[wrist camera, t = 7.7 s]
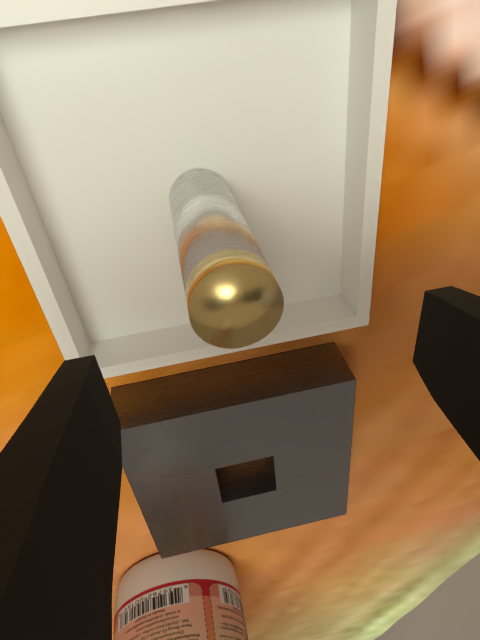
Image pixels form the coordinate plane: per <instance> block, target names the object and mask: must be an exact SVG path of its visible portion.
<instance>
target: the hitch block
mask: <svg viewBox="0 0 480 640" xmlns="http://www.w3.org/2000/svg"><path fill="white" fill-rule="evenodd" d="M355 389H356V378H355V377H354V375H353V373H352V372H351V370H350V368H349V367H348V365H347V363H346V362H345V360H344V358H343V356H342V355H341V353H340V351H339V350H338V348H337V346H336V345H335V343H334V342H333V343H328V344H323V345H318V346H313V347H308V348H303V349H299V350H294V351H289V352H284V353H279V354H274V355H269V356H264V357H260V358H255V359H250V360H245V361H240V362H235V363H230V364H225V365H220V366H216V367H211V368H206V369H201V370H196V371H191V372H186V373H181V374H177V375H172V376H167V377H162V378H157V379H152V380H147V381H142V382H137V383H133V384H128V385H123V386H118V387H113V388H111V399H112V401H113V404H114V406H115V409H116V412H117V414H118V417H119V419H120V423H121V445H122V467H123V469H124V471H125V474H126V476H127V478H128V481H129V483H130V485H131V488H132V490H133V493H134V495H135V497H136V500H137V502H138V504H139V507H140V509H141V511H142V514H143V516H144V518H145V521H146V523H147V526H148V528H149V530H150V533H151V535H152V537H153V540H154V542H155V544H156V547H157V549H158V552H159V554H160V556H161V559H163V558H167V557H172V556H176V555H180V554H184V553H188V552H192V551H196V550H200V549H205V548H209V547H213V546H217V545H221V544H225V543H229V542H233V541H237V540H242V539H246V538H250V537H254V536H258V535H262V534H266V533H270V532H274V531H279V530H283V529H287V528H291V527H295V526H299V525H303V524H307V523H311V522H316V521H320V520H324V519H328V518H332V517H336V516H340V515H344V514H346V511H347V498H348V484H349V471H350V457H351V443H352V430H353V416H354V403H355Z"/></svg>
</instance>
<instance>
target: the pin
mask: <svg viewBox="0 0 480 640" xmlns="http://www.w3.org/2000/svg"><path fill="white" fill-rule="evenodd" d="M169 203H170V209H171V215H172V221H173V227H174V233H175V238H176V244H177V250H178V256H179V262H180V268H181V273H182V279H183V285H184V291H185V297H186V303H187V308H188V314H189V320H190V323H191V326H192V328H193V330H194V331H195V333H196V334H197V335H198V336H199V337H200V338H201V339H202V340H203V341H205V342H207V343H208V344H211V345H213V346H216V347H220V348H228V349H233V348H242V347H246V346H249V345H252V344H254V343H256V342H258V341H260V340H262V339H263V338H265V337H266V336H267V335H268V334H269V333H270V332H272V331H273V329H274V328H275V327H276V325H277V324H278V322H279V320H280V318H281V316H282V313H283V308H284V298H283V294H282V291H281V289H280V287H279V285H278V283H277V281H276V279H275V277H274V275H273V273H272V271H271V269H270V267H269V265H268V263H267V261H266V259H265V258H264V256H263V254H262V252H261V250H260V248H259V246H258V244H257V242H256V240H255V238H254V236H253V234H252V232H251V230H250V228H249V226H248V225H247V223H246V221H245V219H244V217H243V215H242V213H241V211H240V209H239V207H238V205H237V203H236V201H235V199H234V197H233V195H232V193H231V192H230V190H229V188H228V186H227V184H226V182H225V181H224V179H223V178H222V177H221V176H220V175H219V174H217V173H216V172H214V171H212V170H209V169H206V168H194V169H190V170H188V171H185V172H184V173H182V174H181V175H180V176H178V177H177V179H176V180H175V181H174V183H173V184H172V186H171V189H170V193H169Z"/></svg>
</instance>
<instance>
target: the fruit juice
mask: <svg viewBox="0 0 480 640" xmlns="http://www.w3.org/2000/svg"><path fill="white" fill-rule="evenodd" d="M114 640H248V635H247V630H246V624H245V618H244V613H243V607H242V601H241V596H240V590H239V584H238V579H237V576H236V572H235V569H234V567H233V565H232V563H231V562H230V561H229V559H228V558H226V557H225V556H224V555H222V554H220V553H217V552H215V551H211V550H206V549H200V550H196V551H192V552H188V553H184V554H180V555H176V556H172V557H167V558H163V559H161V556H160V554H156V555H154V556H151V557H148V558H146V559H144V560H142V561H140V562H139V563H137V564H136V565H134V566H133V567H131V568H130V569H129V570H128V571H127V572H126V573H125V574H124V575H123V577H122V578H121V580H120V582H119V585H118V588H117V593H116V599H115V618H114Z"/></svg>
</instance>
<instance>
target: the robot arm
mask: <svg viewBox="0 0 480 640" xmlns="http://www.w3.org/2000/svg"><path fill="white" fill-rule="evenodd" d="M413 363H414V365H415V366H416V368H417V370H418V372H419V374H420V376H421V378H422V380H423V382H424V383H425V385H426V387H427V389H428V390H429V392H430V394H431V396H432V397H433V399H434V400H435V402H436V403H437V405H438V406H439V407H440V409H441V410H442V411H443V413H444V414H445V415H446V417H447V418H448V420H449V421H450V422H451V424H452V425H453V426H454V428H455V429H456V430H457V432H458V433H459V434H460V436H461V437H462V438H463V440H464V441H465V442H466V444H467V445H468V446H469V448H470V449H471V450H472V452H473V453H474V454H475V455H476V457H477V458H478V459H479V461H480V297H479V296H477V295H474V294H472V293H469V292H467V291H464V290H461V289H458V288H455V287H452V286H449V287H443V288H438V289H433V290H428V291H425V294H424V299H423V305H422V311H421V317H420V322H419V328H418V334H417V339H416V345H415V351H414V357H413ZM121 474H122V445H121V423H120V419H119V417H118V414H117V412H116V409H115V406H114V404H113V401H112V399H111V396H110V393H109V391H108V388H107V386H106V383H105V380H104V378H103V375H102V373H101V370H100V367H99V365H98V362H97V360H96V357H95V355H90V356H85V357H80V358H75V359H70V360H65V361H64V362H63V363H62V365H61V366H60V368H59V369H58V370H57V372H56V373H55V375H54V376H53V378H52V379H51V381H50V382H49V384H48V385H47V387H46V388H45V390H44V391H43V393H42V394H41V396H40V397H39V399H38V400H37V402H36V403H35V404H34V406H33V407H32V409H31V410H30V412H29V413H28V415H27V416H26V418H25V419H24V420H23V422H22V423H21V425H20V426H19V427H18V429H17V430H16V432H15V433H14V435H13V436H12V437H11V439H10V440H9V442H8V443H7V444H6V446H5V447H4V449H3V450H2V451H1V453H0V640H112V582H113V567H114V556H115V544H116V533H117V522H118V510H119V499H120V487H121Z"/></svg>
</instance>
